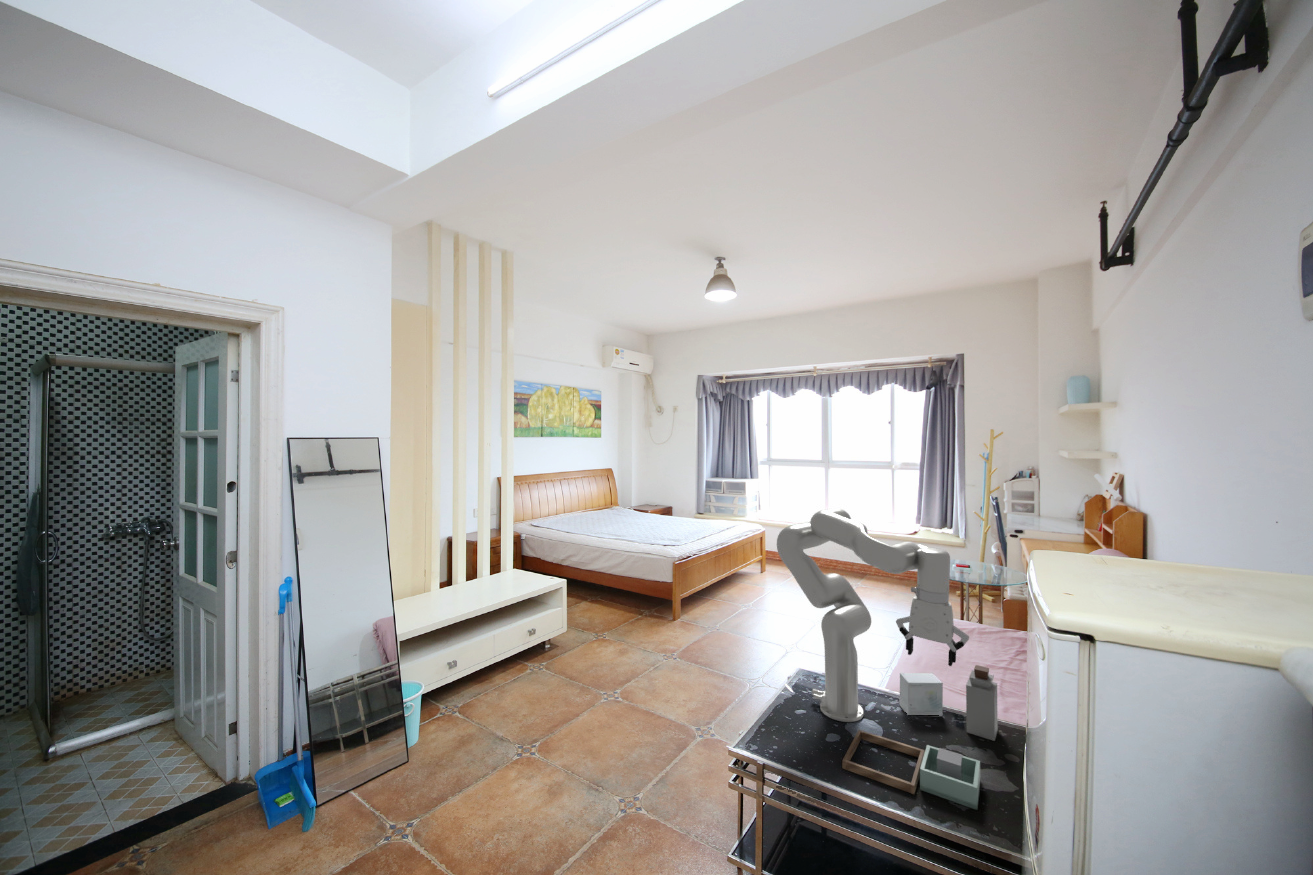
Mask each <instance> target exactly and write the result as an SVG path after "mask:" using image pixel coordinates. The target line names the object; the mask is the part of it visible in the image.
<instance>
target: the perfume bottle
mask: <svg viewBox="0 0 1313 875" xmlns="http://www.w3.org/2000/svg"><path fill="white" fill-rule="evenodd" d="M989 672H990V667H986V666H982V665H978V664H975V665H974V669H973V670H971V672H970V674H969V676H968V680H967V682H966V685H965V690H966V691H965V694H966V696H965V697H966V698H965V700H966V704H965V706H966V707H965V708H966V709H965V710H966V711H965V712H966V713H965V714H966V718H965V719H966V722H965V723H966V733H968V734H970V735H971V734H972V735H974V736H978V737H981V738H984V739H987V740H991V741H994V742H995V741H996V738H997V734H998V730H999V729H998V728H999V727H998V725H999V724H998V721H999V720H998V719H999V718H998V683H997V682H995V681H994V675H993V674H989Z"/></svg>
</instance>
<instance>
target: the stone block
mask: <svg viewBox="0 0 1313 875" xmlns="http://www.w3.org/2000/svg"><path fill="white" fill-rule="evenodd" d="M962 756H963V754H961V753H958V752H955V751H952V750H951V751H950V750H948V749H944V748H942V747H939V750H938V755H937V773H940V774H943V775H946V776H949V777H952V778H955V779H958V780H961V781H962V780H963V762H962Z"/></svg>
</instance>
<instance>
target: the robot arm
mask: <svg viewBox="0 0 1313 875" xmlns="http://www.w3.org/2000/svg"><path fill="white" fill-rule="evenodd" d="M810 518H811V519H810V521H806V522H801V523H796V524H792V525H789V526H786V527H784V528H783V529H781V530H780V532H779V534H778V535H777V538H776V550H777V553H778V556H779V557H780V560H781V561H782V563H783V564H784V565H785V566H786V568H787V569H788V571H789V572H790V573H791V574H792V577H794V579H795V581H796V583H797V584H798V586H799V588H800V589H801V591H802V592H803V593H804V595H805V596H806V598H807V599H808V601H809V603H810V604H811V606H813V607H814V608H816V609H824V608H828V607H829V608H830V607H831V606H834V607H835V608H833V609H830V610H828V611H827V612H826V613H825V614H824V616H823V617H822V620H821V622H820V623H821V632H822V637H823V645H824V690H819V689H818V688H817V689H816V688H812V690H811V694H812V696H813V700H817V701H820V704H819V707H820V711H821V712H822V714H824V715H825V716H826V717H827V718H830V719H832V720H835V721H839V722H842V723H853V722H858V721H860V720H861V719H862V718H863V717H864V708H863V707H862V706H861V705H860V704H859V680H858V679H859V674H858V672H859V669H858V666H859V665H858V651H857V647H856V645H855V642H854V639H855V638H856V637H857V636H859V635H860V636H861V635H862V634H863V633H866V632H867V631H868V630H869V629H870V628H871V625H872V616H871V613H870V611H869V609H868V608H867V606H866V605H865V604H864V602H863V600H862V599H861V597H860V596H859V595H858V592H856V590H855V589H854V587H853V586H852V584H851V583H850V582H849V581H848V580H847V579H846V578H845V577H844V576H843V575H841V574H839V573H834V572H829V573H824V572H823V571H822V569H820V567H819V565H818V564H817V562H816V561H815V559H813V558H812V557H811V556H809V555H808V554H807V553H805V551H804V550H806V549H811V548H815V547H819V546H821V545H824V544H826V543H828V542H833V543H834V544H835V543H836V544H837V545H839V546H842V547H844V548H846V549H849V550H851V551H853V553H854V554H855V555H856V556H857V557H858V558H859V559H860V560H861V561H862V562H864V563H866V564H867V565H869V566H871V567H873V568H876V569H878V570H881V571H882V572H885V573H890V574H894V575H899V574H903V573H906V572H909V571H913V570H914V571H915V570H917V576H916V579H917V580H916V586H914V587H913V586H911V587H910V592H911V593H913V594H915V596H913V597H912V601H911V606H910V610H909V611H910V613H909V616H905V617H904V616H903V617H901V618H896V620H895V623H896V626H897V627H898V630H899V632H900V633H901V634H902V635H903V637H904V639H905V650H907V655H909V656H911V655H912V654H913V652H914V641H915V640H914V637H916V638H920V639H923V640H924V639H925V640H928V641H932V642H937V643H941V644H946V645H947V646H948V647H949V649H948V664H947V665H948V666H949V667H952V666H953V664H954V663H956V661H957V660H956V659H957V651H958V650H960V649H962V648H963V647H964V646H965V644H967V642H968V641H969V639H970V636H969V634H966V633H965V632H964V631H963V630H961V629H960V628H959V627H957V626H956V625H954V612H953V606H952V603H951V602H950V600H949V598H950V576H951V575H950V573H951V555H950V553H949V552H947V550H944V549H941V548H935V547H927V546H925V545H922V544H919V543H917V542H914V541H903V542H899V543H895V544H892V545H891V544H887V543H885V542H881V541H879V540H878V539H874V537H873V538H872V537H871V536H869V535H868V533H869V532H868V528H867V526H866V525H865V524H863V523H861V522H858V521H855V520H853V519H852V518H851V516H850V514H849V513H848V512H847V511H846V510H844V509H842V508H839V507H838V508H836V507H834V508H829V509H823V510H818V511H817V512H815V513H813V515H812V516H811V517H810ZM907 623H908V629H907V628H906V626H905V625H904V624H907ZM954 634H955V635H956V636H958V637H959V638H960V640H959V641H957V642H956V641H955V640H954V639H953V638H954Z"/></svg>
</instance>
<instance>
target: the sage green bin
mask: <svg viewBox="0 0 1313 875" xmlns="http://www.w3.org/2000/svg"><path fill="white" fill-rule="evenodd" d="M939 748H940V747H939ZM939 748H938V747H936V746H932V745H929V744H926V746H925V749H924V750H925V753H924V757H923V760H922V764H921V767H920V776H919V786H920V787H919V790H920V791H921V792H922V791H923V792H926V793H928V794H931V795H934V796H936V797H939V798H943V799H946V800H947V801H951V802H954V803H955V804H959V805H962V806H965V807H968V808H971V809H973V810H976V811H978V808H979V807H978V806H979V797H980V788H981V760H978V759H975V758H972V757H968V756H964V755H962V762H963V780H962V781H961V780H958V779H955V778H952V777H949V776H946V775H943V774H940V773H937V755H938V750H939Z"/></svg>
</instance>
